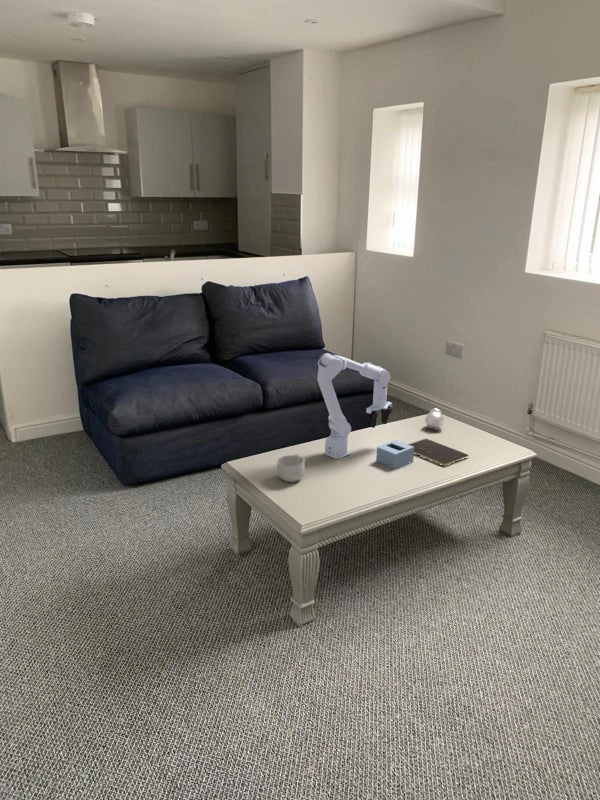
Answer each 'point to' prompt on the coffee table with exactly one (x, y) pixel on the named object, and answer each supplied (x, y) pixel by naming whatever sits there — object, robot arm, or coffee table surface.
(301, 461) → the teacup
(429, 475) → the coffee table surface
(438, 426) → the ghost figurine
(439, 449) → the hardcover book
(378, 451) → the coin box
